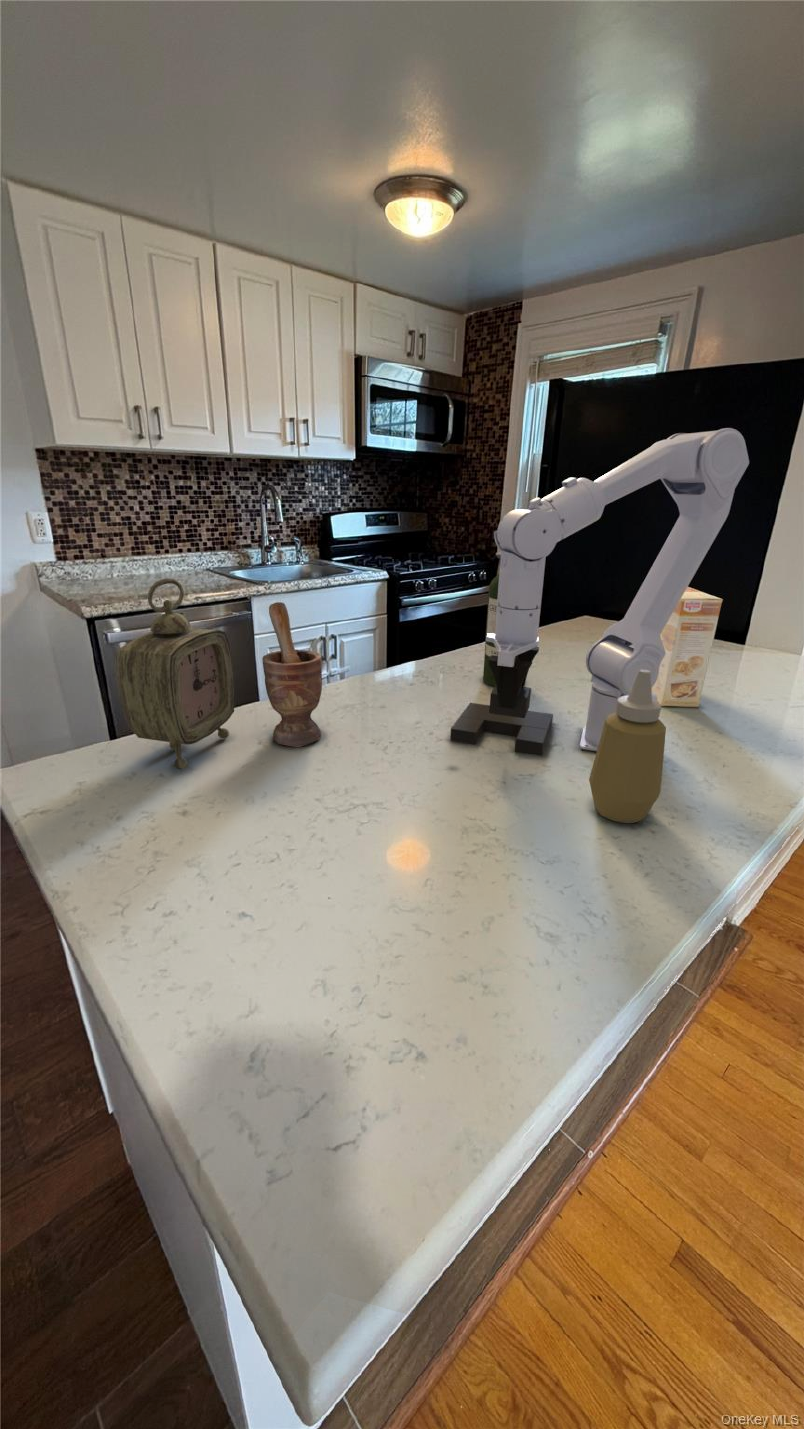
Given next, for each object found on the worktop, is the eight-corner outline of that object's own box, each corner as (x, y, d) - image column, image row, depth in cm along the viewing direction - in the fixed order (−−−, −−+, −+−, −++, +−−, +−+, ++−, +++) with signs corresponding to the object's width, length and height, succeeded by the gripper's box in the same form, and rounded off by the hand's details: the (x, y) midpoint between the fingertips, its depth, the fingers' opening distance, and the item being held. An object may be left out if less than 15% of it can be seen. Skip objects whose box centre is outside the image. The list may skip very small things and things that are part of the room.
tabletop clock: (184, 778, 76) (154, 590, 66) (127, 769, 78) (90, 585, 69) (240, 735, 89) (222, 572, 79) (190, 728, 91) (167, 569, 81)
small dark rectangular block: (529, 707, 82) (531, 687, 81) (524, 718, 78) (526, 698, 77) (495, 702, 84) (496, 683, 82) (489, 713, 80) (490, 693, 79)
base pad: (551, 725, 94) (553, 714, 93) (541, 755, 83) (543, 743, 82) (469, 713, 98) (470, 702, 97) (450, 740, 88) (450, 728, 87)
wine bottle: (482, 686, 111) (492, 525, 99) (483, 674, 118) (493, 522, 107) (523, 689, 110) (538, 526, 98) (522, 676, 117) (536, 523, 105)
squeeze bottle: (652, 800, 72) (681, 664, 65) (657, 835, 65) (689, 687, 58) (586, 789, 74) (606, 657, 67) (583, 822, 67) (605, 678, 60)
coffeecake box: (700, 707, 102) (724, 598, 94) (660, 706, 102) (681, 598, 94) (665, 680, 115) (684, 583, 108) (630, 679, 116) (647, 583, 108)
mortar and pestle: (247, 731, 90) (234, 606, 83) (292, 716, 96) (283, 598, 88) (291, 754, 83) (281, 619, 75) (336, 736, 89) (331, 609, 81)
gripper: (499, 594, 83) (492, 681, 88) (476, 614, 70) (470, 715, 75) (548, 597, 80) (539, 687, 86) (534, 618, 68) (524, 722, 73)
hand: (510, 701), depth 80 cm, fingers closed on small dark rectangular block, 4 cm apart
